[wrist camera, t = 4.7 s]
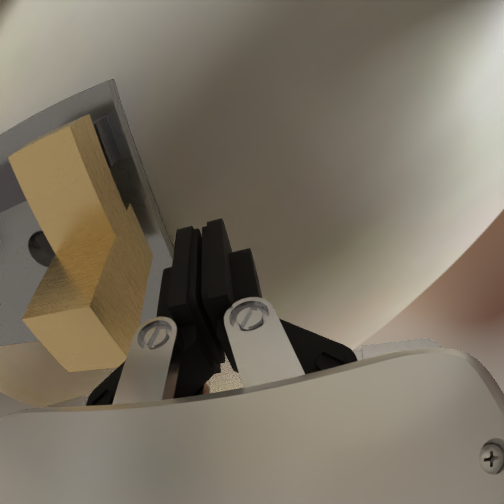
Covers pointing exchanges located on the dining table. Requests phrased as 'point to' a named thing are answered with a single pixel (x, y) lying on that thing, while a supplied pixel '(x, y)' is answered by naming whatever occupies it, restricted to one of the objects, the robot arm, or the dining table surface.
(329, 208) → the dining table surface
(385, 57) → the dining table surface
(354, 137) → the dining table surface
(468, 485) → the robot arm
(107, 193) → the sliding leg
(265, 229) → the dining table surface
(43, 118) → the hole plate
